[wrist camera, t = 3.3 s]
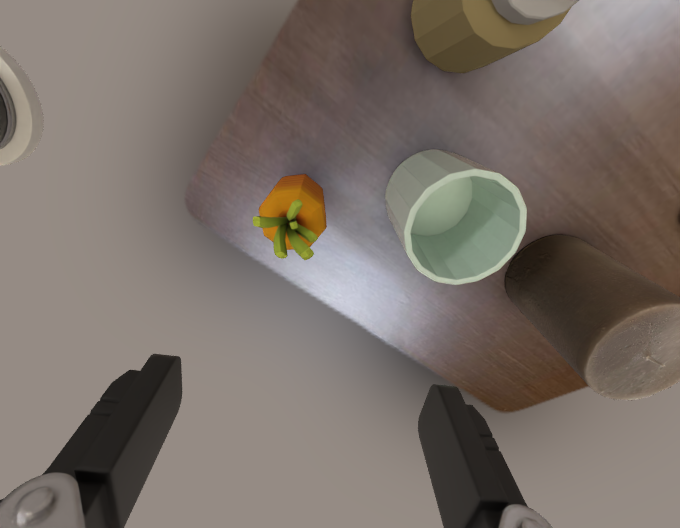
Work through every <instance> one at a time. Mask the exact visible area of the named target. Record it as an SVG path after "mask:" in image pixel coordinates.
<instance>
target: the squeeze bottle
mask: <svg viewBox="0 0 680 528" xmlns="http://www.w3.org/2000/svg"><path fill="white" fill-rule="evenodd" d="M578 1H579V0H413V5H412V11H411V20H412V26H413V32H414V38H415V41H416V43H417V45H418V46H419V48H420V50H421V51H422V53H423V55H424V56H425V58H426V60H428V61H429V62H431V63H432V64H434V65H435V66H437V67H438V68H440V69H441V70H443V71H448V72H457V73H466V72H469V71H472V70H475V69H478V68H481V67H484V66H486V65H488V64H490V63H492V62H495V61H497V60H499V59H501V58H503V57H505V56H507V55H510V54H512V53H514V52H516V51H518V50H520V49H522V48H525V47H527V46H529V45H531V44H533V43H535V42H538V41H539V40H540V39H542V38H543V37H544V36H545V35H547V34H548V33H549V32H550V31H552V30H553V29H554V28H555V27H557V26H558V25H559V24H560V23H561V22H562V20H563V19H564V17H565V16H566V14H567V13H568V11H569V10H570V8H571V7H572V6H573V5H574V4H575V3H577V2H578Z"/></svg>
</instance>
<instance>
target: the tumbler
mask: <svg viewBox="0 0 680 528" xmlns="http://www.w3.org/2000/svg"><path fill="white" fill-rule="evenodd" d="M385 204H386V210H387V214H388V217H389V219H390V221H391V223H392V225H393V227H394V229H395V231H396V233H397V235H398V237H399V239H400V241H401V243H402V246H403V248H404V250H405V252H406V254H407V255H408V257H409V258H410V260H411V262H412V263H413V265H414V266H415V268H416V270H417V271H419V272H420V273H422V274H423V275H425V276H427V277H428V278H430V279H431V280H433V281H435V282H441V283H446V284H452V285H459V284H464V283H470V282H476V281H479V280H481V279H483V278H485V277H487V276H488V275H490V274H492V273H494V272H496V271H498V270H499V269H500V268H501V267H502V266H503V265H504V264H505V263H506V262H507V261H508V260H509V259H510V258H511V257H512V256H513V255H514V254H515V252H516V251H517V249H518V247H519V244H520V242H521V240H522V238H523V236H524V234H525V231H526V215H527V208H526V205H525V203H524V201H523V198H522V196H521V194H520V191H519V189H518V188H517V187H516V186H515V185H514V184H513V183H511V182H510V181H509V180H508V179H506V178H505V177H504V176H503V175H501V174H500V173H497V172H495V171H493V170H491V169H489V168H487V167H484V166H482V165H480V164H478V163H476V162H473V161H471V160H469V159H467V158H465V157H463V156H460V155H458V154H456V153H452V152H449V151H445V150H439V149H432V150H426V151H422V152H419V153H417V154H414V155H412V156H411V157H409V158H407V159H406V160H405V161H403V162H402V163H401V164H400V165H399V166H398V167H397V169H396V170H395V171H394V173H393V174H392V176H391V178H390V180H389V182H388V185H387V188H386V194H385Z"/></svg>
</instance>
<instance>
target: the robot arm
mask: <svg viewBox="0 0 680 528" xmlns="http://www.w3.org/2000/svg"><path fill="white" fill-rule="evenodd" d="M15 129H16V111H15V106H14V103H13V100H12V97H11V95H10V93H9V91H8V89H7V87H6V85H5V84H4V82H3V81H2V79H1V78H0V149H2V148H4V147H5V146H6V145H7V144H8V143H9V142H10V141H11V139H12V137H13V135H14V132H15ZM181 399H182V374H181V359H180V357H178V356H169V355H160V354H153V355H151V356H150V358H149V359H148V360H147V362H146V363H145V365H144V366H143V368H142V369H141V371H136V370H129V371H127V372H126V373H125V374H123V375H122V376H120V377H119V378H118V379H116V380H115V381H114V382H112V383H111V385H110V386H109V388H108V389H107V390H106V391H105V393H104V394H103V395H102V397H101V399H100V401H98V402H97V404H96V405H95V406H94V408H93V409H92V410H91V413H90V415H88V416H87V417H86V418H85V420H84V421H83V422H82V424H81V425H80V426H79V428H78V429H77V431H76V432H75V433H74V434H73V436H72V437H71V438H70V440H69V441H68V442H67V444H66V445H65V447H64V448H63V449H62V451H61V452H60V453H59V454H58V456H57V457H56V458H55V460H54V461H53V463H52V464H51V465H50V467H49V468H48V469H47V470H46V471H45V473H43V474H42V475H41V476H38V477H36V478H33V479H31V480H29V481H27V482H25V483H24V484H22V485H20V486H19V487H17V488H16V489H14V490H13V491H12V492H11V493H10V494H8V495H7V496H6V497H5V498H4V499H2V500H0V528H124V526H125V524H126V522H127V520H128V518H129V515H130V513H131V511H132V509H133V507H134V505H135V503H136V501H137V498H138V496H139V494H140V492H141V490H142V488H143V485H144V484H145V481H146V479H147V477H148V475H149V473H150V471H151V469H152V466H153V464H154V462H155V460H156V458H157V456H158V454H159V451H160V449H161V447H162V445H163V443H164V441H165V439H166V437H167V434H168V432H169V430H170V428H171V426H172V424H173V421H174V419H175V417H176V415H177V413H178V410H179V407H180V404H181ZM418 432H419V438H420V441H421V445H422V449H423V452H424V456H425V460H426V463H427V467H428V471H429V474H430V478H431V482H432V486H433V489H434V493H435V497H436V500H437V504H438V508H439V511H440V515H441V518H442V522H443V526H444V528H552V526H551V525H550V524H549V523H548V522H547V520H546V519H545V518H544V517H542V516H541V515H540V514H539V513H537V512H536V511H534V510H533V509H531V508H529V507H528V506H527V504H526V503H525V501H524V499H523V497H522V495H521V493H520V491H519V489H518V486H517V485H516V482H515V480H514V478H513V476H512V474H511V472H510V470H509V468H508V466H507V464H506V462H505V460H504V458H503V456H502V454H501V452H500V451H499V447H498V446H497V443H496V441H495V439H494V438H492V433H491V431H490V429H489V427H488V425H487V423H486V421H485V419H484V418H483V417H482V416H481V415H480V413H479V412H478V411H477V410H476V409H475V408H474V407H473V406H472V405H466V404H465V402H464V400H463V398H462V395H461V393H460V391H459V389H458V388H457V387H454V386H445V385H435V384H434V385H432V386H431V388H430V390H429V393H428V395H427V398H426V400H425V403H424V406H423V408H422V411H421V413H420V416H419V421H418Z"/></svg>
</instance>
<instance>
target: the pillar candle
mask: <svg viewBox="0 0 680 528" xmlns="http://www.w3.org/2000/svg"><path fill="white" fill-rule="evenodd" d="M505 288H506V292H507V294H508V296H509V298H510V299H511V300H512V302H513V303H514V304H515V305H516V306H517V307H518V308H519V309H520V311H521V312H522V313H523V314H524V315H525V316H526V317H527V318H528V319H529V320H530V322H531V323H532V324H533V325H534V326H535V327H536V328H537V329H538V330H539V332H540V333H541V334H542V335H543V336H544V337H545V338H546V339H547V340H548V342H549V343H550V344H551V345H552V346H553V347H554V348H555V349H556V350H557V351H558V352H559V354H560V355H561V356H562V357H563V358H564V359H565V360H566V361H567V362H568V364H569V365H570V366H571V367H572V368H573V369H574V370H575V371H576V372H577V373H578V374H579V375H580V377H581V378H582V379H583V380H584V381H585V382H586V383H587V384H588V386H589V387H590V388H592V389H593V390H594V391H595V392H597V393H598V394H600V395H602V396H604V397H607V398H611V399H616V400H617V399H618V400H628V401H632V400H635V399H642V398H647V397H649V396H651V395H654V394H655V393H657V392H659V391H662V390H665V389H667V388H670V387H671V386H672V385H674V384H675V383H678V382H679V381H680V297H678V296H677V295H675V294H673V293H671V292H670V291H668V290H666V289H664V288H663V287H661V286H659V285H658V284H656V283H654V282H652V281H651V280H649V279H647V278H646V277H644V276H642V275H640V274H639V273H637V272H635V271H633V270H632V269H630V268H628V267H627V266H625V265H623V264H622V263H620V262H618V261H616V260H615V259H613V258H611V257H609V256H608V255H606V254H604V253H603V252H601V251H599V250H598V249H596V248H594V247H593V246H591V245H589V244H588V243H586V242H585V241H583V240H581V239H579V238H576V237H572V236H566V235H552V236H547V237H544V238H541V239H538V240H537V241H535V242H533V243H531V244H529V245H528V246H527V247H525V248H524V249H523V250H522V251H521V252H520V253H519V254H518V255H517V256H516V257H515V258H514V259H513V261H511V264H510V266H509V268H508V272H507V274H506V278H505Z"/></svg>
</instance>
